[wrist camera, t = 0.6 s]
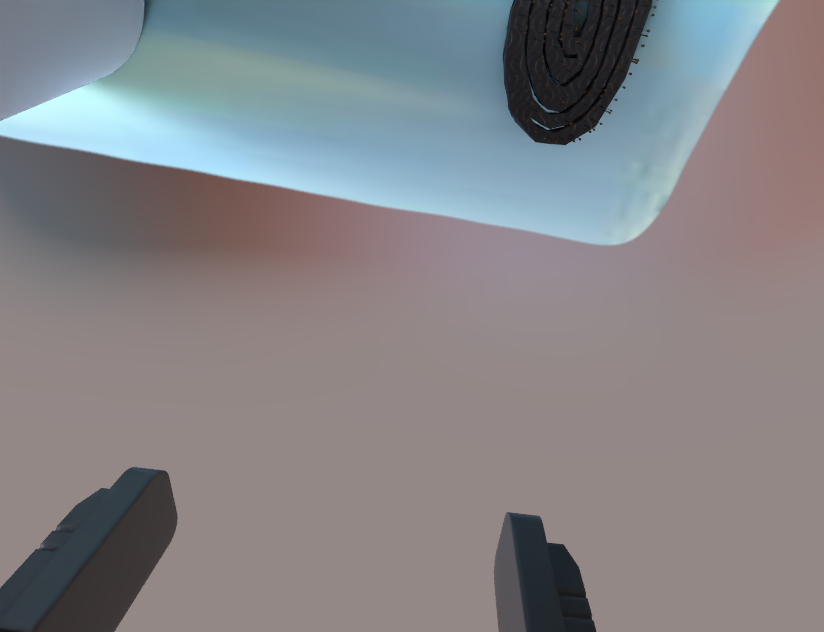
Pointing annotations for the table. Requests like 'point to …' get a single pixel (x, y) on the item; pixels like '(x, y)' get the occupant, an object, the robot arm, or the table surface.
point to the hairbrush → (568, 63)
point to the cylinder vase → (61, 46)
